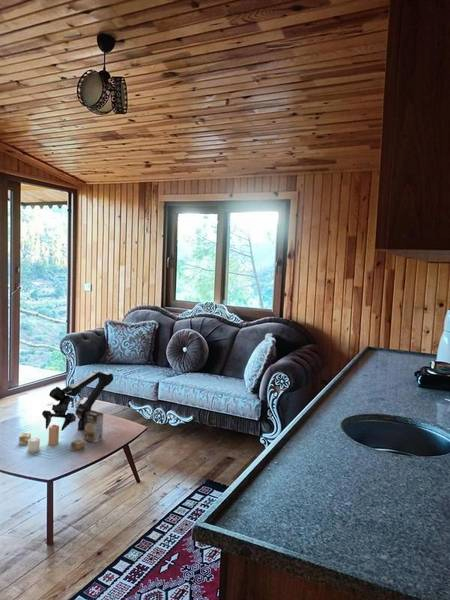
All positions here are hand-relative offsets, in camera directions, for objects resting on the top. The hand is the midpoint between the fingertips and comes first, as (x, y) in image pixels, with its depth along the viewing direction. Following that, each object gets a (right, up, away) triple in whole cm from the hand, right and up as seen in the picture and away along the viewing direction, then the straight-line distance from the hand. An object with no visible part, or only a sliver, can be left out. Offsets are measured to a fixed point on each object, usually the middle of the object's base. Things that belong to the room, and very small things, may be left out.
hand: (53, 429), depth 255 cm
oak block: (-16, -7, 0) cm, 18 cm away
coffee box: (+19, -9, +10) cm, 23 cm away
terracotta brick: (0, -8, 0) cm, 8 cm away
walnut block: (+15, -10, -5) cm, 19 cm away
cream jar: (-7, -8, -10) cm, 15 cm away
